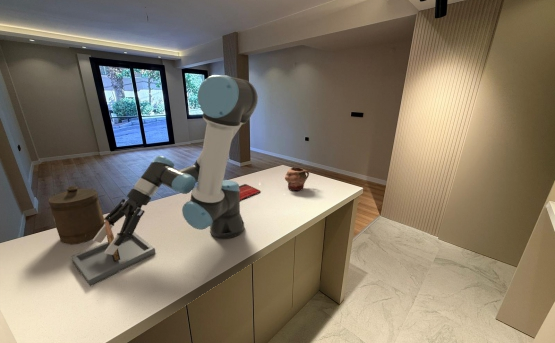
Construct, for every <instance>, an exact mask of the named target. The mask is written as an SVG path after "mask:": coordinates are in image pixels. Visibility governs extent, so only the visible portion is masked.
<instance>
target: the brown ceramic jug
mask: <svg viewBox="0 0 555 343" xmlns="http://www.w3.org/2000/svg"><path fill="white" fill-rule="evenodd" d="M309 176H310V171H309V170H306V169H303V167H302V168H301V167H290V168H289V169H288V170H287V172H286V174H285V176H284V180H285V181H286V182H287V188H288V189H289V190H290V189H291V190H290V191H292V190H301V189H302V190H303V189H304V186H305V183H306V181H307V180H308V178H309ZM302 190H301V191H302Z"/></svg>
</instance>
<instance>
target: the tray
mask: <svg viewBox="0 0 555 343" xmlns="http://www.w3.org/2000/svg"><path fill="white" fill-rule="evenodd" d="M108 246H109V243H108V241H106V242H103V243H100V244H98V245H96V246H94V247H91V248H89V249H86V250H83V251H80V252H78V253H76V254H74V255H71V256H70V258H71V260H72V263H73V265H74V266H75V267H76V269H77V270H78V272H79V273H80V274H81V275H82V278H84V281H85V282H86V283H87V284H88V285H89V287H93V286H94V285H96V284H98V283H101V282H102V281H104V280H106V279H108V278H110V277H112V276H113V275H116V274H119V273H120V272H121V271H124V270H126V269H127V268H129V267H131V266H133V265H135V264H137V263H139V262H141V261H143V260H146V258H149V257H150V256H153V255H154V254H156V248H155V246H153V245H152V244H150V243H149V242H148V241H146V240H145V239H144V238H142V237H141V236H140V235H139V234H137V233H136V232H135V231H134V232H133V234H132V236H131V237H130V238H129V237H126V238H125V239H124V240H123V242H122V243H121V245H120V246H119V247H118V252H119V256H120V260H118V261H115V262H114V261H113V257H112V255H110V254H106V253H104V252H105V250H106V249H107V248H108Z"/></svg>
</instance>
